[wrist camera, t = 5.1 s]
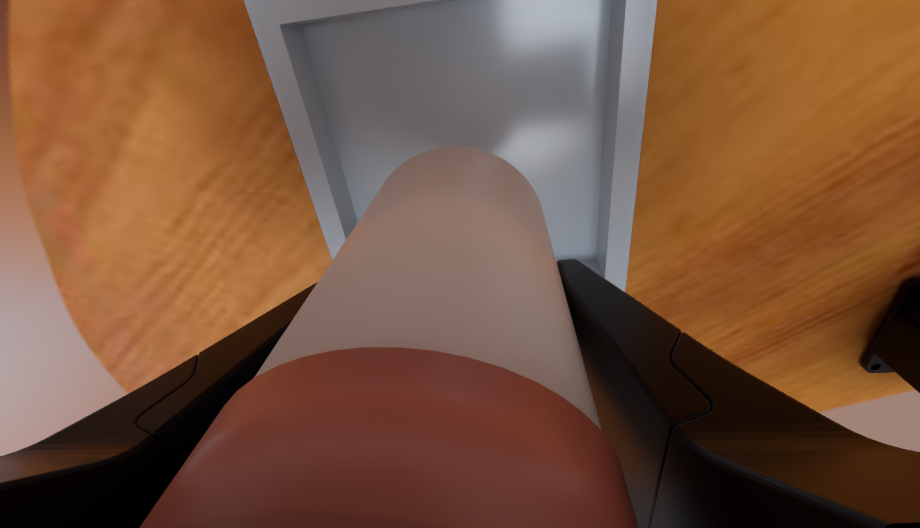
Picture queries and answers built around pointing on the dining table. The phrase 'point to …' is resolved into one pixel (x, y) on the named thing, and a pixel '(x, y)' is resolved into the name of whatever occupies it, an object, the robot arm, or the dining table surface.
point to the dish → (469, 102)
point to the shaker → (418, 380)
